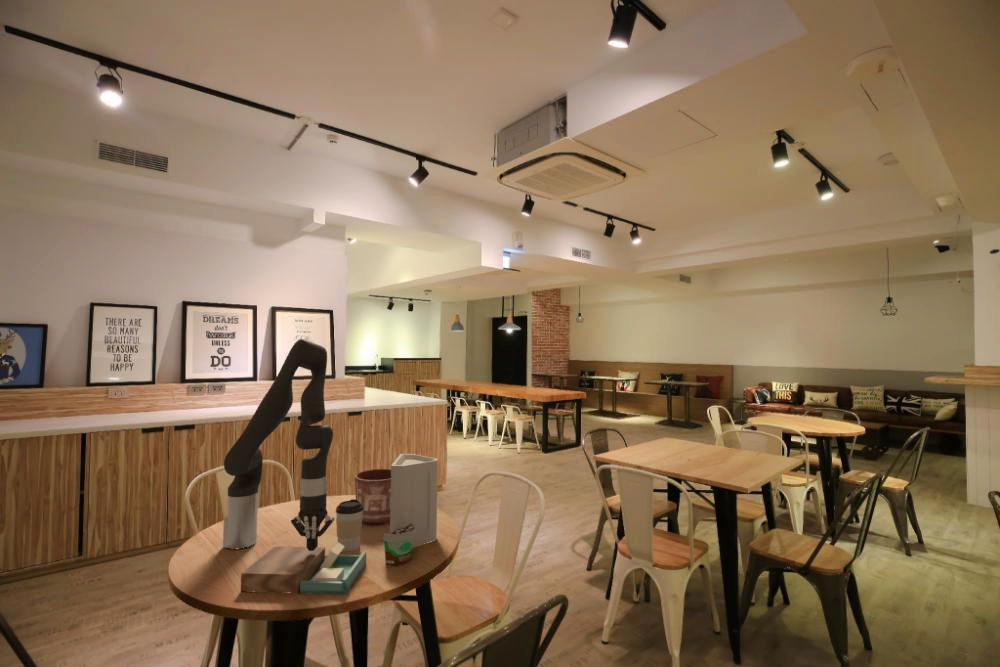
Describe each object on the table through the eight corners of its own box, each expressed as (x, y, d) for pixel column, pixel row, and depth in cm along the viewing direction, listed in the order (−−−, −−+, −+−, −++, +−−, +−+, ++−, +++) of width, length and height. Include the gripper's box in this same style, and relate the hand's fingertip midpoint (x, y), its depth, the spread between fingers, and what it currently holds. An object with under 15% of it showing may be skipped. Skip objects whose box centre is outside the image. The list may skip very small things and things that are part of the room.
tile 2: (336, 578, 130) (335, 587, 130) (343, 568, 136) (343, 577, 136) (314, 577, 130) (314, 586, 130) (323, 567, 136) (323, 576, 136)
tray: (300, 593, 128) (300, 578, 128) (326, 564, 146) (326, 550, 146) (345, 594, 128) (345, 579, 128) (366, 565, 146) (366, 551, 146)
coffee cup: (354, 553, 154) (355, 507, 154) (329, 551, 156) (330, 505, 156) (367, 543, 163) (368, 499, 163) (343, 540, 164) (344, 497, 165)
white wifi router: (433, 550, 157) (435, 466, 159) (388, 550, 157) (390, 465, 158) (438, 529, 176) (440, 453, 178) (398, 529, 176) (400, 453, 177)
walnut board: (240, 591, 129) (241, 573, 129) (273, 562, 147) (274, 546, 147) (298, 593, 128) (298, 574, 128) (324, 564, 146) (325, 547, 146)
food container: (396, 571, 142) (397, 538, 142) (382, 566, 145) (382, 533, 145) (423, 557, 152) (424, 525, 153) (409, 552, 155) (410, 521, 156)
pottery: (347, 517, 187) (348, 472, 188) (388, 509, 198) (389, 466, 198) (362, 532, 173) (364, 482, 173) (406, 522, 183) (408, 476, 184)
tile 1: (330, 550, 139) (337, 554, 139) (338, 542, 145) (344, 546, 145) (319, 567, 139) (326, 572, 139) (327, 558, 145) (334, 563, 145)
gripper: (285, 495, 139) (284, 554, 138) (330, 495, 139) (328, 555, 138) (297, 487, 147) (296, 544, 146) (339, 488, 146) (338, 545, 145)
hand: (312, 549), depth 142 cm, fingers closed
